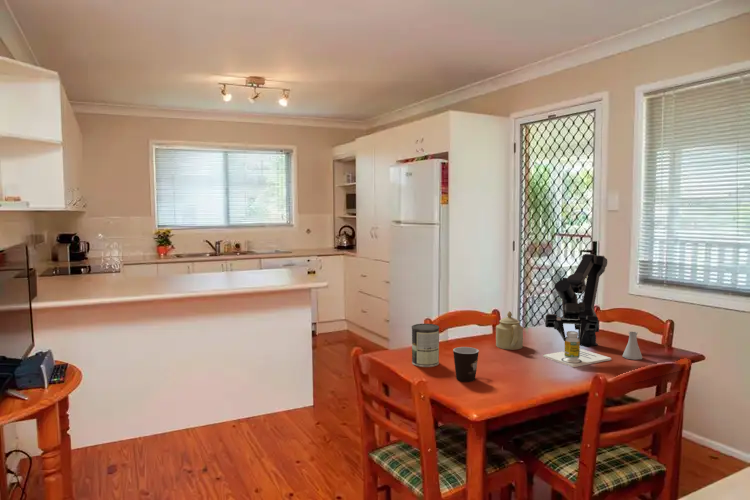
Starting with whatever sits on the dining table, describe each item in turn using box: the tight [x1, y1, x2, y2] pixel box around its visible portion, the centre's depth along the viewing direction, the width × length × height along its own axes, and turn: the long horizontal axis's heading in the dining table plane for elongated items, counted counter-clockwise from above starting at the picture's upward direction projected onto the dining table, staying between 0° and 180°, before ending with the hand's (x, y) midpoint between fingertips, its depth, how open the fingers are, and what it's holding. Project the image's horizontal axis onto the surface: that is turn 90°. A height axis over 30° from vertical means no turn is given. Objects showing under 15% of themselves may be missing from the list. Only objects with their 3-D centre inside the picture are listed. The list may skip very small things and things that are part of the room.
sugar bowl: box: [495, 311, 524, 351], centre depth 218 cm, size 15×11×15 cm
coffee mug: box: [452, 346, 480, 383], centre depth 179 cm, size 12×9×10 cm
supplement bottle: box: [564, 330, 581, 359], centre depth 196 cm, size 5×5×10 cm
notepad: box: [542, 348, 612, 368], centre depth 202 cm, size 15×20×1 cm
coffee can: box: [411, 323, 440, 368], centre depth 196 cm, size 10×10×14 cm
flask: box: [622, 331, 643, 361], centre depth 202 cm, size 7×7×10 cm
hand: (572, 341), depth 195 cm, fingers closed on supplement bottle, 5 cm apart
